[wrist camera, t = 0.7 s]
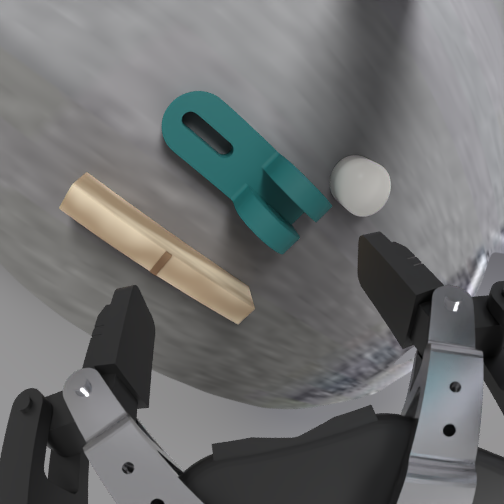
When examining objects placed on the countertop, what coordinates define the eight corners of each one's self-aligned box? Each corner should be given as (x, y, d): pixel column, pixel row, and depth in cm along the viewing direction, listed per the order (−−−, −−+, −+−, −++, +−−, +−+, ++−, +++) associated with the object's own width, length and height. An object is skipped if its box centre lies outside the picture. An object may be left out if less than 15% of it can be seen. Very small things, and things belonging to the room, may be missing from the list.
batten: (86, 172, 29) (71, 184, 25) (248, 286, 40) (255, 309, 36) (73, 193, 30) (58, 208, 26) (233, 301, 40) (238, 325, 36)
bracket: (313, 189, 35) (342, 216, 28) (272, 230, 36) (290, 264, 30) (195, 78, 27) (195, 72, 20) (150, 128, 28) (136, 138, 22)
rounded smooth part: (355, 143, 33) (370, 150, 30) (384, 180, 36) (399, 189, 33) (318, 181, 34) (330, 191, 31) (350, 215, 37) (362, 227, 34)
